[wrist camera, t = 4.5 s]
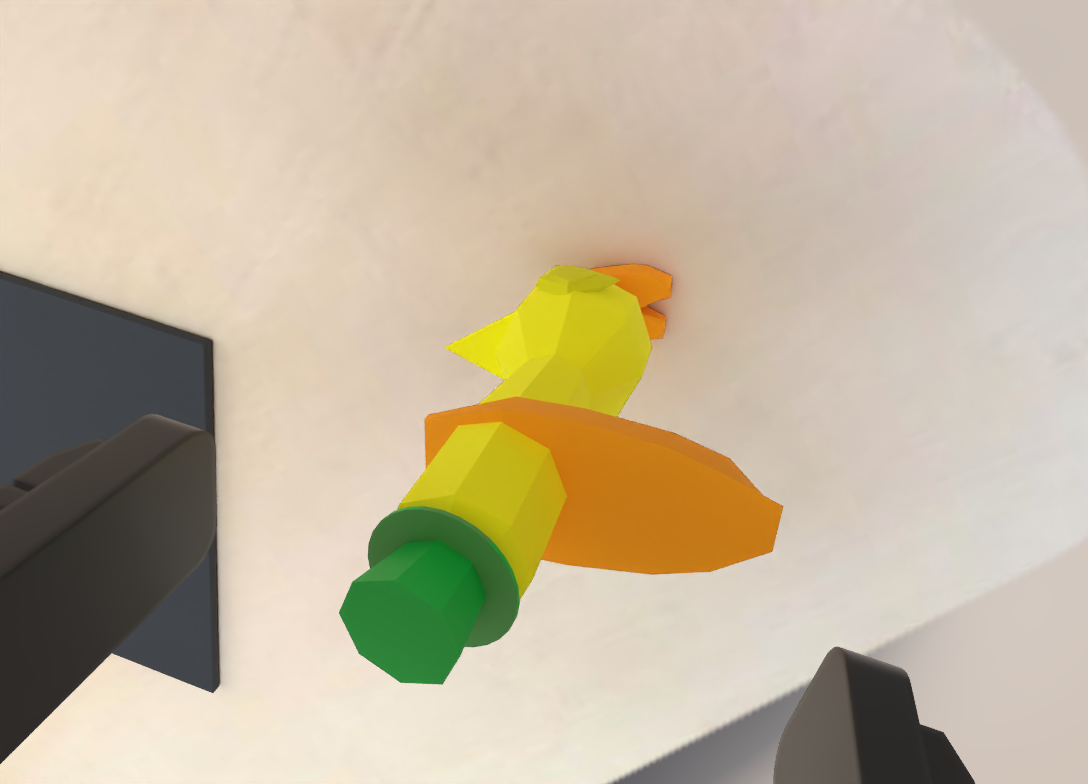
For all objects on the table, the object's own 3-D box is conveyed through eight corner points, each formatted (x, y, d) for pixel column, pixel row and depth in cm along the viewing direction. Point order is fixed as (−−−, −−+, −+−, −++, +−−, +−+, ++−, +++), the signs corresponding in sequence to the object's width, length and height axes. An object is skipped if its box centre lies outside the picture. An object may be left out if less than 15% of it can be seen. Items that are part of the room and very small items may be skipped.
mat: (212, 339, 23) (203, 345, 22) (219, 686, 31) (213, 693, 30) (-217, 200, 25) (-230, 203, 25) (-108, 557, 33) (-117, 563, 32)
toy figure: (789, 248, 17) (817, 608, 7) (760, 387, 19) (749, 843, 9) (508, 216, 19) (183, 475, 8) (505, 347, 20) (231, 698, 10)
